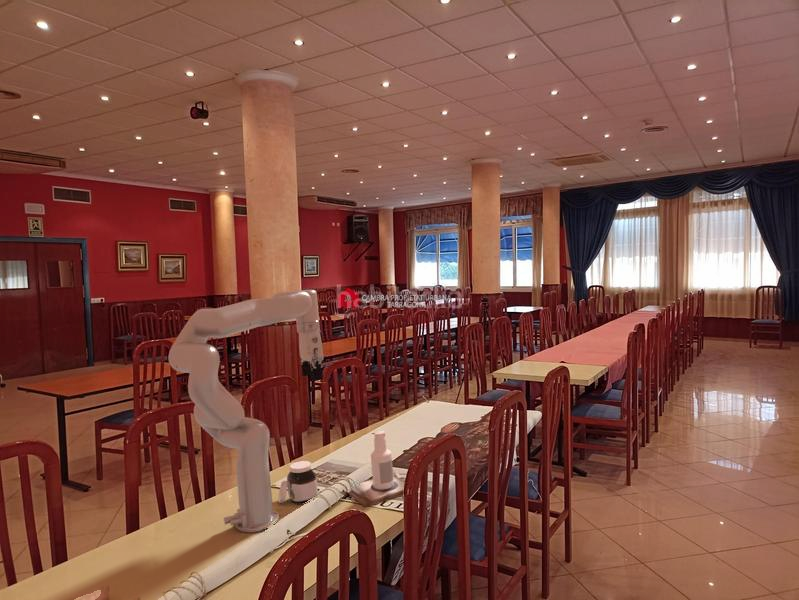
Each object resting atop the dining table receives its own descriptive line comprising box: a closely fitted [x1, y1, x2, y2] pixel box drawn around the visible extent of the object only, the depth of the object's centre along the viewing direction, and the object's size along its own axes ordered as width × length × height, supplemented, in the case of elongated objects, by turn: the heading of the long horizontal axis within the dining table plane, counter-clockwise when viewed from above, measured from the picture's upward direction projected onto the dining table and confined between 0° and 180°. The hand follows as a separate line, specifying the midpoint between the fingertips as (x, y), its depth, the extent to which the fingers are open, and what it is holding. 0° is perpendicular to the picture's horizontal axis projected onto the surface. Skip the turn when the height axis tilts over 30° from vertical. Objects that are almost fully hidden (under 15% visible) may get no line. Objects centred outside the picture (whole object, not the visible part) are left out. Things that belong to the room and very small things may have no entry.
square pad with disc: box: [348, 475, 404, 508], centre depth 179 cm, size 18×16×2 cm
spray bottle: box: [370, 430, 394, 490], centre depth 179 cm, size 7×7×18 cm
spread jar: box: [277, 460, 318, 505], centre depth 176 cm, size 12×11×12 cm
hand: (312, 377), depth 181 cm, fingers open, 9 cm apart
